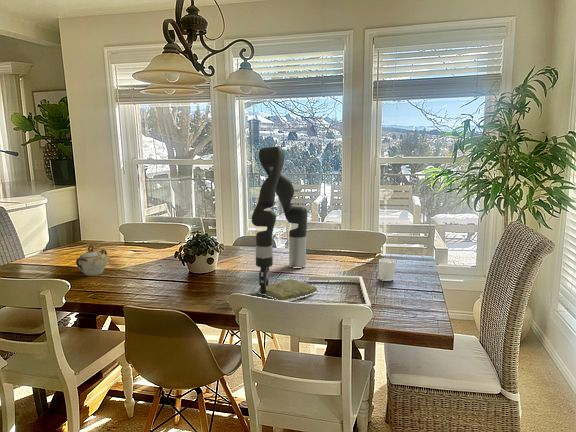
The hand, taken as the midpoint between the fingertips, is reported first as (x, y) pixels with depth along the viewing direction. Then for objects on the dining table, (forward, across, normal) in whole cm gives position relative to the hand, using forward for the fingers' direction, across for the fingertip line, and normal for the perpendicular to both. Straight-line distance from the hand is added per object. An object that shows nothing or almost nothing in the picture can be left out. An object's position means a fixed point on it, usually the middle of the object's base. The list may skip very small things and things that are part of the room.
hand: (264, 290), depth 185 cm
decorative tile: (+2, -1, +11) cm, 11 cm away
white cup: (+2, -24, +57) cm, 62 cm away
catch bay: (+2, 0, +32) cm, 32 cm away
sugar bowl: (+2, -23, -94) cm, 97 cm away
